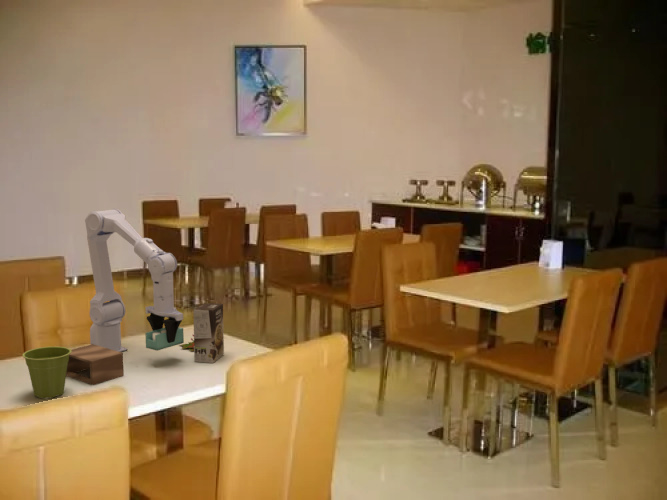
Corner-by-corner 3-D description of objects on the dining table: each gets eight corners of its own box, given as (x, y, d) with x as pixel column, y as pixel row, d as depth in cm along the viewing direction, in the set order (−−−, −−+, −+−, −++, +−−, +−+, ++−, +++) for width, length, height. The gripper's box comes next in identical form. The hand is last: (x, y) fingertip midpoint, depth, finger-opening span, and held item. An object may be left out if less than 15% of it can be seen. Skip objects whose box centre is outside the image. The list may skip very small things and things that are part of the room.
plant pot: (78, 396, 191) (76, 354, 189) (30, 405, 184) (27, 362, 183) (67, 383, 200) (65, 343, 199) (21, 391, 194) (18, 350, 192)
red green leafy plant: (172, 346, 237) (171, 333, 236) (206, 340, 244) (205, 327, 243) (188, 356, 227) (188, 341, 226) (223, 349, 234) (223, 335, 233)
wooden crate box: (63, 374, 208) (61, 352, 207) (93, 366, 215) (92, 344, 214) (93, 385, 199) (91, 361, 198) (123, 375, 207) (122, 352, 206)
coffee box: (214, 363, 218) (213, 310, 216) (193, 362, 220) (192, 309, 217) (224, 354, 227) (223, 303, 225) (205, 353, 228) (203, 302, 226)
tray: (145, 347, 216) (145, 332, 215) (172, 340, 224) (172, 325, 223) (157, 350, 213) (156, 335, 212) (183, 342, 221) (183, 328, 220)
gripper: (190, 296, 214) (191, 341, 217) (158, 289, 223) (159, 333, 225) (171, 300, 209) (173, 347, 211) (139, 293, 218) (140, 338, 220)
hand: (164, 340), depth 218 cm, fingers closed on tray, 5 cm apart
